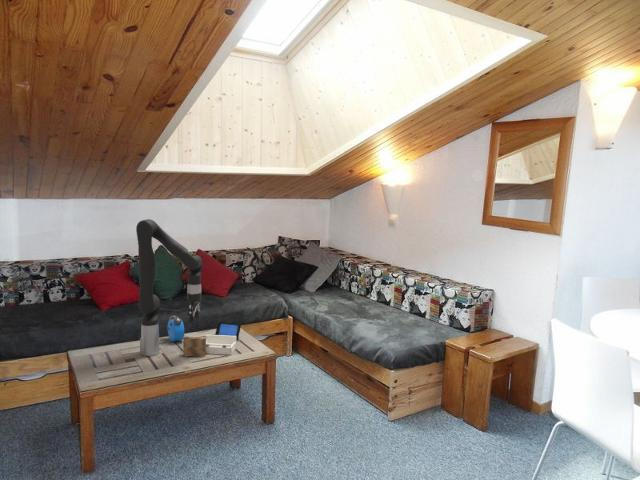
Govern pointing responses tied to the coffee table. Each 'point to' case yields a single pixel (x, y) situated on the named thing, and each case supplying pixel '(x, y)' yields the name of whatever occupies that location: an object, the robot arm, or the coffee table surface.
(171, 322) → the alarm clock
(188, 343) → the door panel
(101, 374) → the coffee table surface
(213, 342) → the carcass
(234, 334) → the handheld game console
